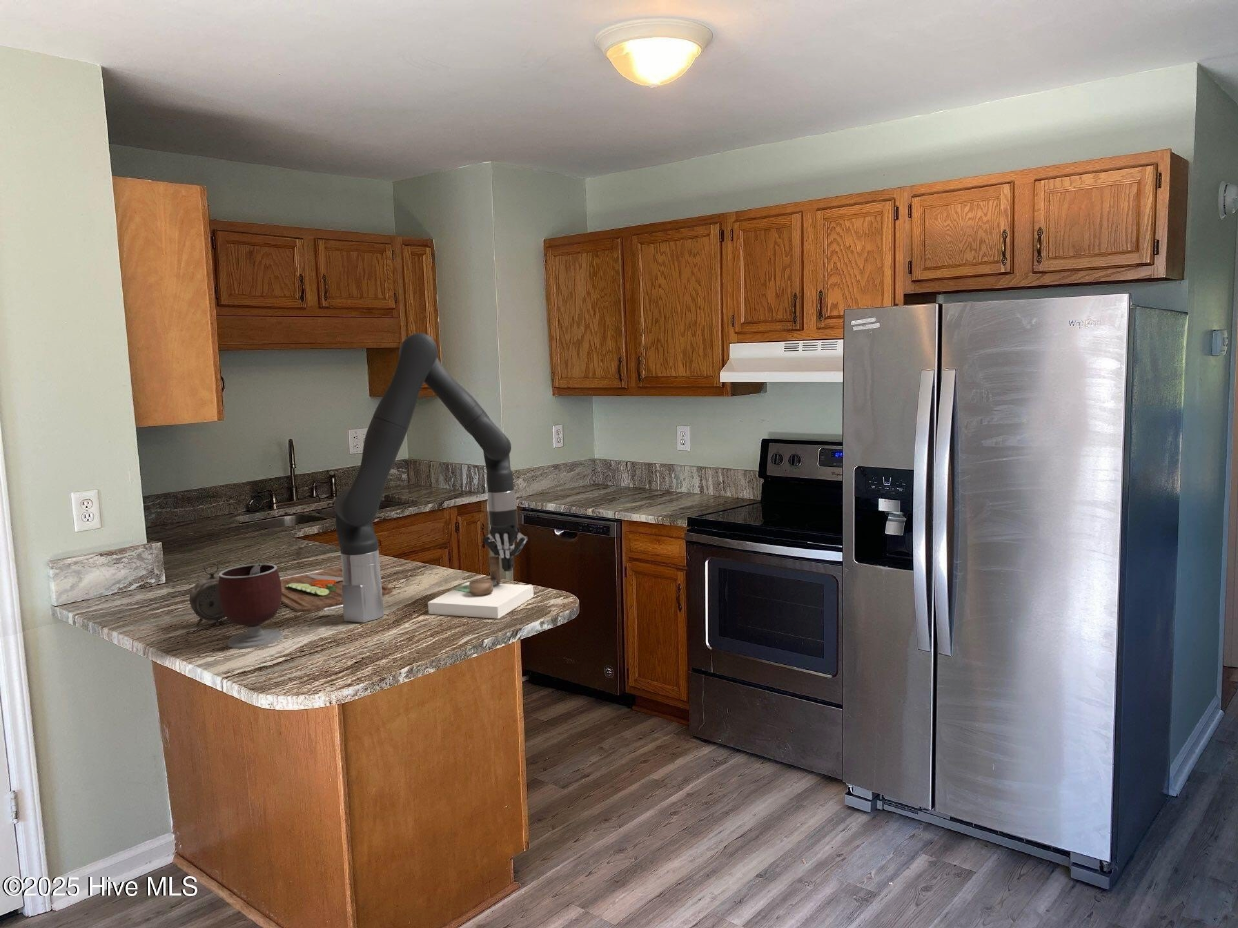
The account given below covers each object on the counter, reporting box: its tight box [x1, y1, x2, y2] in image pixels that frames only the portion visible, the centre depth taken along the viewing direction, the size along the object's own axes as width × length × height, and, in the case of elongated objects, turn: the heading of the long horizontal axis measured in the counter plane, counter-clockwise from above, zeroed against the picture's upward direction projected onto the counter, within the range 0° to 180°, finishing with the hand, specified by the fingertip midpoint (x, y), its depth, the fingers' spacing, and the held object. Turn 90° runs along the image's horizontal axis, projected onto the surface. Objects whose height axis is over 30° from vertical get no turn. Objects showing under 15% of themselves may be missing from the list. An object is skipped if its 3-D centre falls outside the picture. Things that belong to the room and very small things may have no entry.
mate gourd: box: [218, 563, 284, 649], centre depth 215 cm, size 16×14×20 cm
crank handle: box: [469, 555, 502, 595], centre depth 240 cm, size 13×6×7 cm, turn 163°
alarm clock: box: [189, 561, 227, 627], centre depth 231 cm, size 11×5×16 cm, turn 123°
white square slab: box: [427, 581, 534, 619], centre depth 237 cm, size 20×20×3 cm
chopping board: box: [280, 567, 393, 613], centre depth 261 cm, size 45×27×3 cm, turn 38°
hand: (508, 570), depth 243 cm, fingers closed
